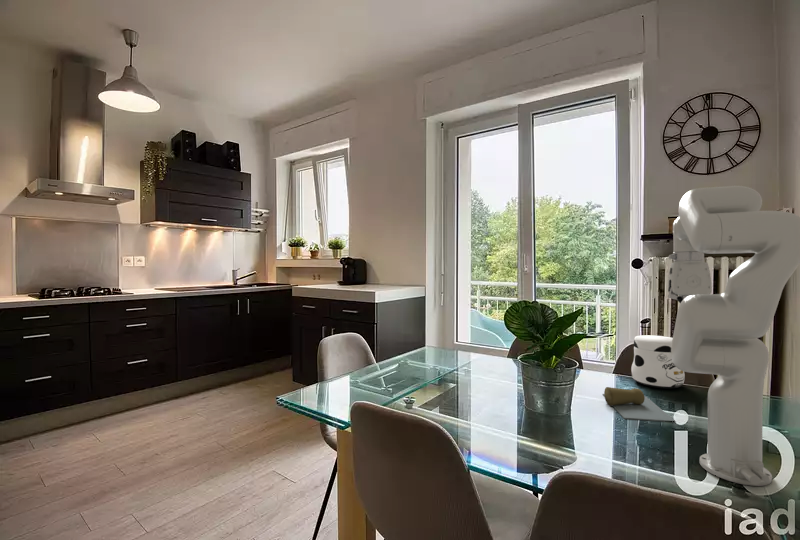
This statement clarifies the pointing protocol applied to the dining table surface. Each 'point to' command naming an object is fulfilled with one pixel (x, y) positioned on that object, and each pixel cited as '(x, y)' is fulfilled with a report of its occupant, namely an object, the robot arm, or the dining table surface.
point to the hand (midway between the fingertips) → (688, 317)
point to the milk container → (655, 362)
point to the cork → (623, 396)
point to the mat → (642, 411)
